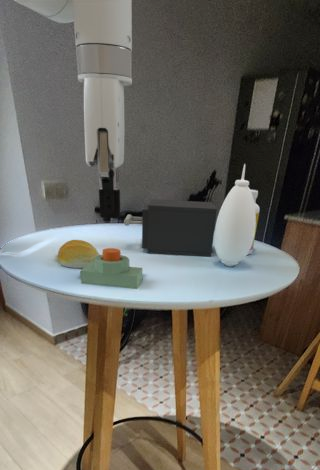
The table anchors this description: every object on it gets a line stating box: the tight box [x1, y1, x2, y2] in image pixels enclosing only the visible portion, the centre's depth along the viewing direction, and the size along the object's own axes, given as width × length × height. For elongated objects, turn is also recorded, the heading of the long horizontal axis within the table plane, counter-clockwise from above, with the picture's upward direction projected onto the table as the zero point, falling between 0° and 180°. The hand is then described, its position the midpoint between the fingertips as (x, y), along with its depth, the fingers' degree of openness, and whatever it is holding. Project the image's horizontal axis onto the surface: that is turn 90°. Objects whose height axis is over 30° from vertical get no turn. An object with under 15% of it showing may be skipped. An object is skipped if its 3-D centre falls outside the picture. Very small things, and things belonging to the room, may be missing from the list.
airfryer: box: [146, 198, 218, 258], centre depth 84 cm, size 15×10×10 cm
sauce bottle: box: [213, 163, 256, 267], centre depth 72 cm, size 8×8×18 cm
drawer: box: [123, 203, 149, 249], centre depth 84 cm, size 18×9×8 cm, turn 89°
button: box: [102, 247, 121, 261], centre depth 63 cm, size 3×3×2 cm
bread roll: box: [56, 239, 100, 269], centre depth 73 cm, size 8×9×4 cm
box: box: [79, 254, 144, 289], centre depth 64 cm, size 10×6×4 cm, turn 82°
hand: (110, 217), depth 61 cm, fingers closed
